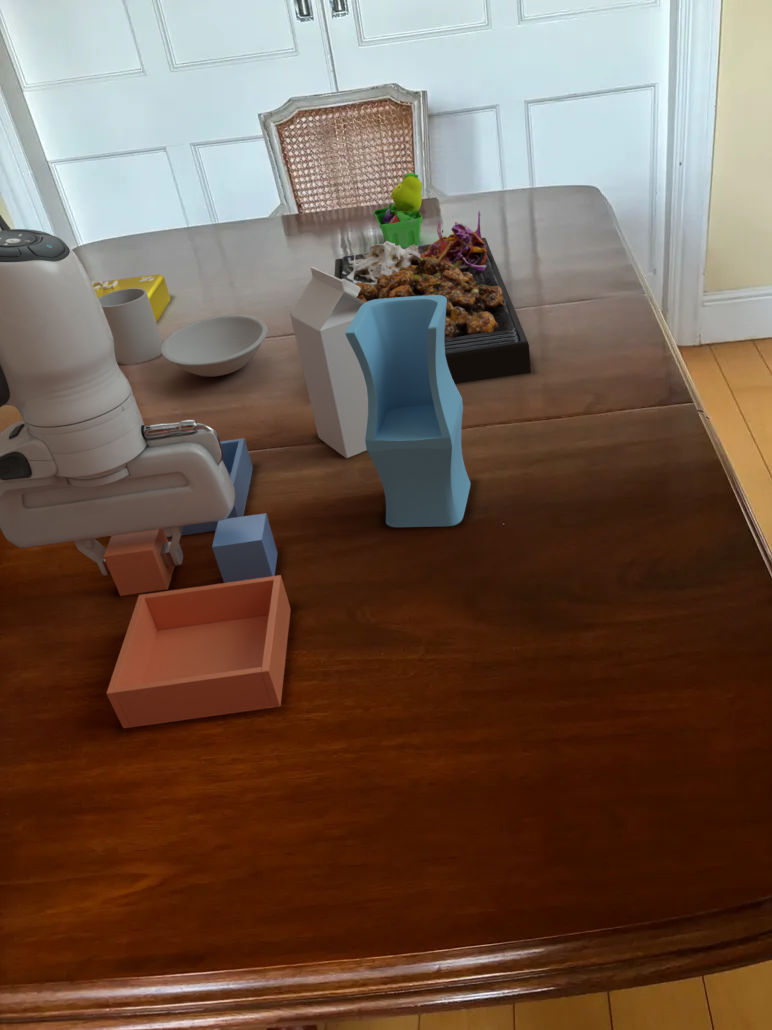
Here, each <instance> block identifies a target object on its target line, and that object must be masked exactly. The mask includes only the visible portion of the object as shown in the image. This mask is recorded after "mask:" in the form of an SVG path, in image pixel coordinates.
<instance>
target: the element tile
mask: <svg viewBox="0 0 772 1030" xmlns="http://www.w3.org/2000/svg"><path fill="white" fill-rule="evenodd" d="M91 283H92V285H93V287H94V290H95V292H96V294H97V297H98V298H100V297H101V296H103V295H105V294H108V293H111V292H114V291H118V290H123V289H130V288H141V289H144V290H145V291H146V292H147V295H148V298H149V301H150V304H151V308H152V311H153V314H154V317H155V320H156V323H157V322H158V320H159V319H160V318H161V316H162V314H163V313H164V311H165V309H166V308H167V306H168V305H169V303H170V301H171V295H170V292H169V288H168V285H167V282H166V279H165V276H164V275H163V274H161V273H158V274H157V273H156V274H148V275H142V276H134V277H126V278H118V279H113V280H112V279H111V280H104V281H102V280H96V281H91Z"/></svg>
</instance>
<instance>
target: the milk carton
mask: <svg viewBox="0 0 772 1030" xmlns="http://www.w3.org/2000/svg"><path fill="white" fill-rule="evenodd" d="M310 271H311V276H312V278H311V279H310V280H309V282H308V284H307V285H306V287H305V289H304V291H303V292H302V294H301V295H300V297H299V299H298V300H297V302H296V304H295V305H294V307H293V308H292V310H291V311H290V313H289V315H290V320H291V324H292V329H293V332H294V337H295V342H296V346H297V351H298V355H299V358H300V362H301V367H302V373H303V377H304V381H305V385H306V389H307V393H308V399H309V402H310V407H311V412H312V415H313V420H314V425H315V429H316V433H317V438H319V439H320V440H321V441H322V442H324V443H325V444H326V445H328V446H329V447H331V448H332V449H333V450H334V451H335V452H337V453H338V454H340V455H341V456H342V457H344V458H345V459H348V458H351V457H354V456H356V455H359V454H361V453H363V452H365V451H366V452H367V449H366V443H365V437H366V429H367V420H368V394H367V386H366V382H365V378H364V375H363V372H362V369H361V366H360V364H359V361H358V359H357V357H356V355H355V352H354V350H353V349H352V347H351V345H350V343H349V341H348V339H347V337H346V334H345V333H346V331H347V329H348V327H349V326H350V324H351V322H352V321H353V319H354V317H355V315H356V314H357V312H358V310H359V309H360V307H361V306H362V305H363V304H364V303H365V302H363V301H362V300H360V299H358V298H356V297H357V296H358V293H359V292H360V289H361V288H360V287H359V286H357V285H355V284H353V283H351V282H349V281H347V280H345V279H339V278H336V277H334V275H332V274H329V273H327V272H326V271H323V270H321V269H318V268H316V267H314V266H310Z"/></svg>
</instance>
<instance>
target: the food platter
mask: <svg viewBox="0 0 772 1030" xmlns="http://www.w3.org/2000/svg"><path fill="white" fill-rule="evenodd" d="M477 214H478V216H477V217H478V218H477V220H478V221H477V227H476V230H474V231H473V230H472V229H471V228H470V227H468V226H467V225H465V224H464V223H460V222H457V221H456V222H455V221H454V225H453V226H452V228H451V231H452V233H451V234H449V235H448V236H446V235H445V236H444V235H443V233H444V230H443V229H442V227H441V221H440V220H437V227H436V228H437V229H436V230H437V231H436V233H437V236H438V238H439V239H437V240H436V241H434V242H432V243H430V244H423V245H416V246H415V244H413V246H409V247H405V248H401V246H400V245H398V246H395V243H394V244H393V243H390V242H389V241H384V242H383V243H376V244H373V245H372V244H370V246H369V252H365V253H360V254H359V253H358V254H356V253H354V254H350V255H345V256H343V257H342V258H336V259H335V261H334V275H333V276H334V277H336V278H339V279H345V280H347V281H349V282H351V283H353V284H355V285H357V286H359V287H360V288H361V289H360V292H359V293H358V296H357V297H356V298H358V299H360V300H362V301H363V302H368V301H370V300H374V299H383V298H397V297H411V296H426V295H442V296H445V297H446V298H447V306H446V316H445V331H444V345H445V356H446V361H447V365H448V368H449V371H450V374H451V376H452V379H453V381H454V383H455V385H456V384H464V383H470V382H477V381H484V380H491V379H498V378H505V377H512V376H521V375H526V374H531V373H532V370H531V369H532V368H531V355H530V344H529V341H528V339H527V337H526V334H525V332H524V330H523V329H524V328H523V326H522V323H521V322H520V319H519V316H518V314H517V312H516V310H515V308H514V307H515V306H514V304H513V302H512V300H511V298H510V295H509V292H508V289H507V287H506V284H505V283H504V280H503V278H502V275H501V272H500V270H499V268H498V265H497V263H496V261H495V260H496V259H495V257H494V255H493V253H492V251H491V249H490V246H489V243H488V240H487V238H486V237H482V234H481V210H479V211H478V213H477Z"/></svg>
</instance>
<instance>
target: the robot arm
mask: <svg viewBox="0 0 772 1030" xmlns="http://www.w3.org/2000/svg"><path fill="white" fill-rule="evenodd" d="M91 282H92V281H91V278H90V277H89V275H88V272H87V271H86V269H85V267H84V265H83V264H82V262H81V260H80V259H79V258H78V256H77V254H76V253H75V252H74V251H73V249H72V248H71V247H70V246H69V245H68V244H67V243H66V242H65V241H64V240H63V239H61V238H60V237H58V236H55V235H54V234H51V233H49V232H45V231H42V230H37V229H29V228H14V229H13V228H11V227H10V226H9V225H8V223H7V222H6V221H5V219H4V218H3V217H2V215H1V214H0V408H2V407H3V406H11V407H14V408H16V409H17V411H18V412H19V413H20V416H21V420H18V421H16V422H14V423H12V424H11V425H9V426H6V427H5V428H4V429H3V430H2V431H1V432H0V530H1V532H2V534H3V536H4V538H5V539H6V541H8V542H9V543H11V544H12V545H14V546H16V547H17V548H19V549H29V548H34V547H42V546H51V545H56V544H64V543H71V542H74V545H75V547H76V549H77V551H79V552H80V553H81V554H84V556H86V557H87V558H89V559H90V560H91V561H93V562H94V563H96V564H97V566H98V568H99V571H100V573H101V575H102V576H104V577H105V576H112V575H111V573H110V571H109V568H108V566H107V564H106V562H105V559H104V557H103V556H104V553H105V551H106V548H107V547H105V545H103V544H102V543H101V542H100V541H98V540H97V539H99V538H106V537H111V536H114V535H121V534H128V533H135V532H142V531H149V530H157V529H163V530H164V533H165V536H167V538H170V537H169V536H172V537H171V541H168V542H165V543H163V546H162V549H161V552H160V554H161V557H162V559H163V560H164V565H165V566H166V567H169V566H175V567H176V566H182V564H183V561H184V552H183V550H182V547H181V544H180V540H181V537H182V535H181V534H182V530H183V527H184V526H185V525H192V524H199V523H206V522H214V521H221V520H225V519H227V517H228V516H229V514H230V513H231V511H232V509H233V507H234V503H235V489H234V486H233V483H232V481H231V478H230V476H229V473H228V471H227V469H226V467H225V465H224V462H223V460H222V459H223V449H222V446H221V443H220V442H221V440H220V437H219V435H218V433H217V431H216V430H215V429H214V428H212V427H211V426H209V425H207V424H204V423H199V422H197V420H196V419H184V420H180V421H178V422H171V423H168V422H164V423H155V424H149V425H146V424H145V423H144V419H143V417H142V414H141V412H140V409H139V406H138V402H137V400H136V397H135V394H134V392H133V389H132V387H131V384H130V382H129V380H128V378H127V376H125V374H124V372H123V371H122V370H121V368H120V366H119V363H118V362H117V361H116V358H115V354H114V340H113V336H112V333H111V330H110V327H109V324H108V322H107V319H106V316H105V314H104V311H103V309H102V306H101V304H100V301H99V299H98V297H97V294H96V292H95V290H94V287H93V285H92V283H91Z"/></svg>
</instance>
